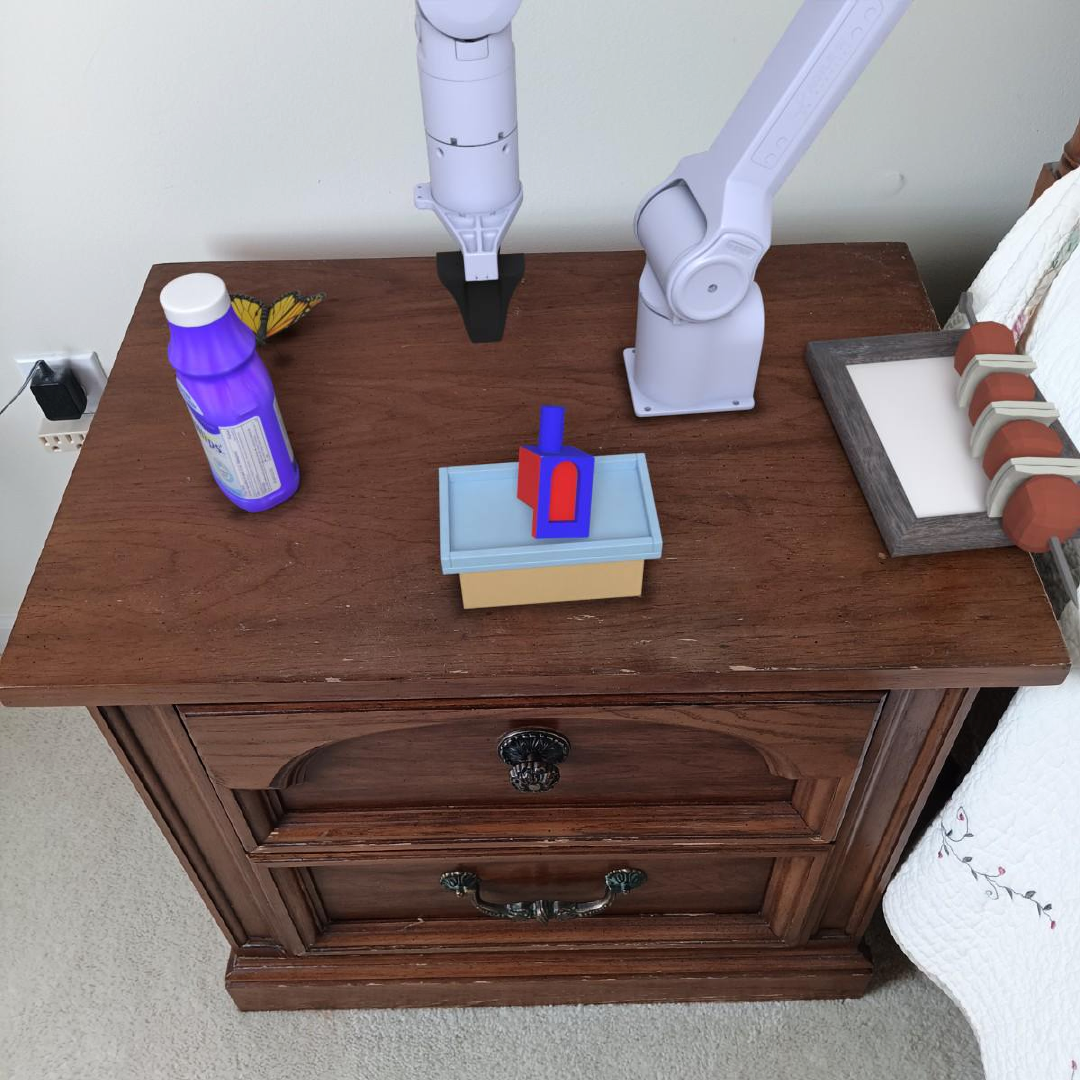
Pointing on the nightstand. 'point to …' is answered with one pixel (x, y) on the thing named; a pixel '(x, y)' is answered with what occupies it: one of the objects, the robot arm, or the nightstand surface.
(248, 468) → the bottle
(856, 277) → the nightstand surface
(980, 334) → the skewer
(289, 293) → the butterfly
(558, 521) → the toy building block
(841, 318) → the nightstand surface
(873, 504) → the picture frame
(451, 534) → the stand
